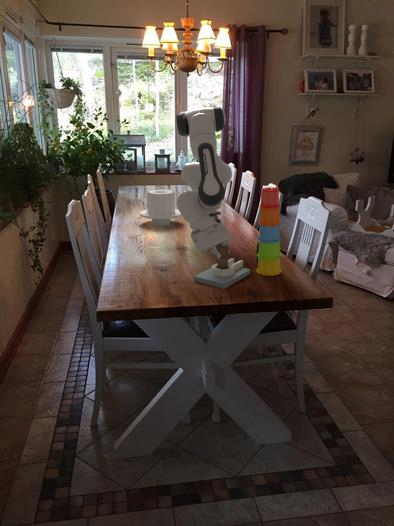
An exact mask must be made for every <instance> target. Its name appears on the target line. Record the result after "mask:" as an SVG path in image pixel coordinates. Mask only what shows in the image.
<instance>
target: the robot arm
mask: <svg viewBox="0 0 394 526" xmlns="http://www.w3.org/2000/svg"><path fill="white" fill-rule="evenodd" d="M226 120H227V119H226V114H225V112H224V110H223V108H222V107H220V106H213V107H200V108H196V109H190V110H187V111H181V112H178V113H177V115H176V117H175V121H174V124H175V129H176V131H177V133H178V135H180V136H181V137H189V144H190V145H189V146H190V149H191V153H192V154H191V155H192V156H193V158H194V159H195V160H197V161H192V162H186V163H185V164H183V166H182V168H181V172H180V175H181V178H182V181H184V183H186V184H187V185H188V186H189V188H190V190H185V191H183V192H182V193H181V194H180V195H179V196H178V198H177V199H176V202H175V206H176V209H178V210H179V212H180V213H181V215H182V216H181V217H183V219H184V220H185V221H186V223H188V224H189V227H190V229H191V233H190V238H191V239H192V240H191V241H192V242H193V244H194V246H195V248H196V250H197V251H198V252H199V253H200V254H205V253H207V252H211V253H212V254H213V255H215V256H216V257H217V259H218V258H221V257H222V256H223V254H222V253H221V252H219V251H218V245H219V244H228V243H229V242H230V241H231V240H232V239H233V236H232V233H231V232H230V231H229V230H228V228H227V227H226V225H225V223H224V222H223V221H222V219H221V218H219V217H220V216H221V214H222V210H221V211H220V210H219V209H220V208H221V206H222V205H223V204H222V203H223V199H224V197H225V193H226V192H225V189H226V188H225V186H224V185H227V184H229V183H230V181H231V180H232V177H233V171H232V168H231V167H230V165H229V164H228V163H226V162H225V161H223V160H222V158H220V156H219V154H218V153H217V150H218V149H217V148H218V147H217V146H218V144H217V134H216V133H218V132H222V131H223V130H224V129H225V125H226ZM230 253H231V250H229V249H228V255H229V254H230Z"/></svg>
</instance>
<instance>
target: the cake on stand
mask: <svg viewBox="0 0 394 526" xmlns="http://www.w3.org/2000/svg"><path fill="white" fill-rule="evenodd" d="M139 216H140V217H141V218H144V219H149V220H150V219H151V226H154V225H157V226H159V227H160V226H162V227H164V226H165V227H168V226H170V224H171V221H172V220H171V219H176V218H177V219H178V218H180V217H183V216H182V215H181V213H180V212H179V210H178V208H176V193H175V191H173V190H170V189H154V190H152V189H151V190H149V191H147V192H146V209H143V210H141V211H140V212H139ZM157 226H156V227H157Z"/></svg>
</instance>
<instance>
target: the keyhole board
mask: <svg viewBox="0 0 394 526" xmlns="http://www.w3.org/2000/svg"><path fill="white" fill-rule="evenodd" d="M210 266H211V267H210V268H208V269H206V270H203V271H202V272H199V273H197V274H196V275H193V281H194V282H197V283H200V284H204V285H208V286H211V287H215V288H219V289H222V290H225V289H227V288H229V287H230V286H232V285H234V284H235V283H238V282H239V281H240V280H242V279H245V277H247V276H249V275H251V269H249V268H246V267H244V260H243V259H240V260H238V261H236V262H235V258H233V257H232V258H228V269H218V262H217V263H214V264H212V265H210Z"/></svg>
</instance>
